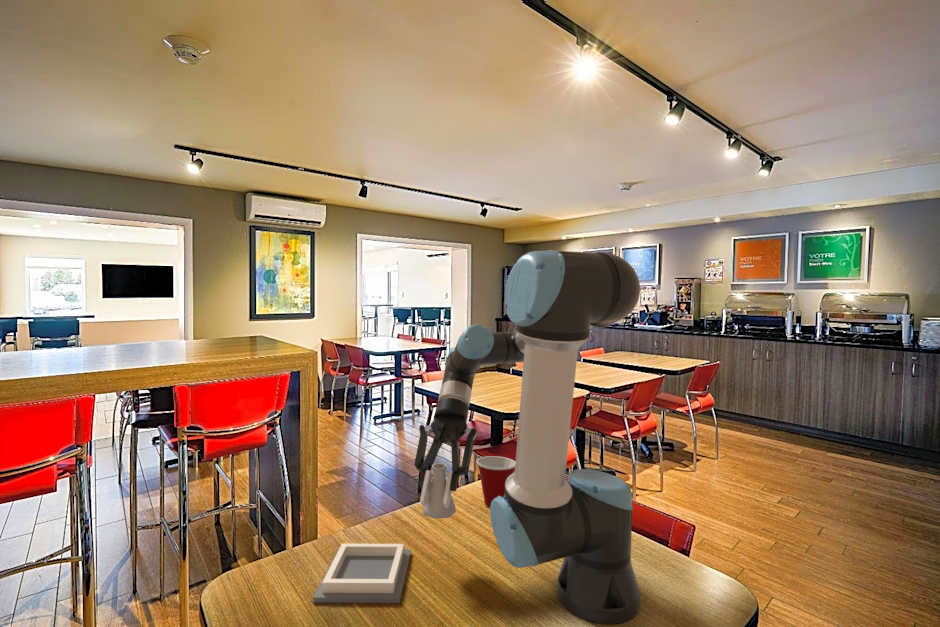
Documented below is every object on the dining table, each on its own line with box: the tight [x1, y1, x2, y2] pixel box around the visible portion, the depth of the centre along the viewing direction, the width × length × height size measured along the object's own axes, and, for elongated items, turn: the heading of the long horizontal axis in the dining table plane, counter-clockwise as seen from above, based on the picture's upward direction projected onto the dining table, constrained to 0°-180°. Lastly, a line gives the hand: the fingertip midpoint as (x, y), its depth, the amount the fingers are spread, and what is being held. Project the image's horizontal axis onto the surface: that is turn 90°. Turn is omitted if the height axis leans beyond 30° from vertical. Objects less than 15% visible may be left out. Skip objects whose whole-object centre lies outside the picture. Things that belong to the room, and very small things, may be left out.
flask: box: [422, 462, 457, 520], centre depth 99 cm, size 7×7×10 cm
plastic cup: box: [476, 455, 516, 508], centre depth 126 cm, size 11×11×12 cm
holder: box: [312, 542, 412, 604], centre depth 95 cm, size 16×16×3 cm
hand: (434, 504), depth 96 cm, fingers closed on flask, 4 cm apart
